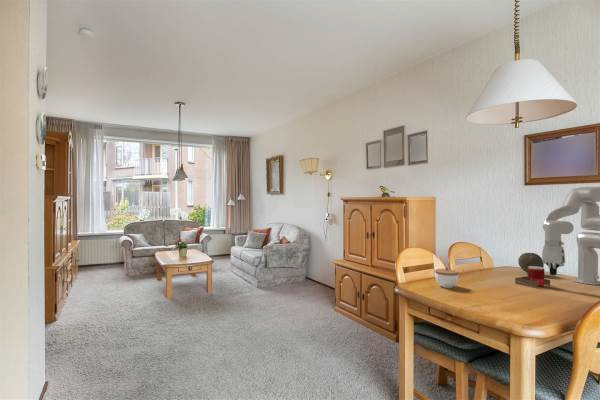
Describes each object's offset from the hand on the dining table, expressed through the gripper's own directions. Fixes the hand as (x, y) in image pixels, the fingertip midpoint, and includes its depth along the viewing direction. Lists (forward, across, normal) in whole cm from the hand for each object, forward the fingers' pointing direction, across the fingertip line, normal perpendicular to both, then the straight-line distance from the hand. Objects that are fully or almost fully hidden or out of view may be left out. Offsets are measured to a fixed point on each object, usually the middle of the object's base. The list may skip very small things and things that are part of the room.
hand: (553, 274), depth 191 cm
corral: (+8, +10, +1) cm, 13 cm away
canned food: (+8, +8, +2) cm, 12 cm away
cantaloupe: (+10, +28, -28) cm, 40 cm away
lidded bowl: (+6, +28, +54) cm, 61 cm away
